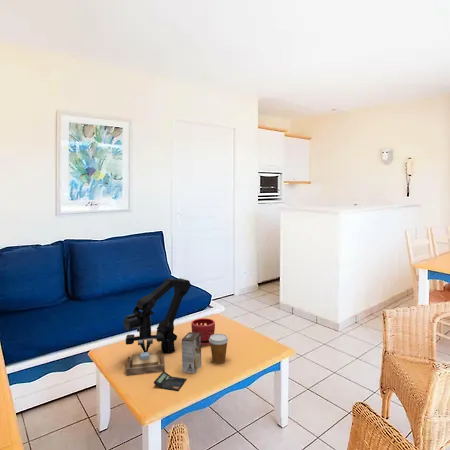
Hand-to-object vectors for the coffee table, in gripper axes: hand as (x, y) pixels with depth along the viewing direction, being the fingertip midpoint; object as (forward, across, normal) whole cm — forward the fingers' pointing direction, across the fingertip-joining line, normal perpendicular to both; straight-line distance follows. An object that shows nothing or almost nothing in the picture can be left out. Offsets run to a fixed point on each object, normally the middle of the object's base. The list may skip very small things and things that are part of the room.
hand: (145, 354), depth 178 cm
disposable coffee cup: (+3, -36, +9) cm, 37 cm away
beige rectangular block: (+3, 0, +6) cm, 7 cm away
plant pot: (+3, -31, -14) cm, 34 cm away
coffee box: (+3, -22, +14) cm, 26 cm away
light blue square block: (-1, 0, +6) cm, 6 cm away
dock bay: (+2, 0, +7) cm, 8 cm away
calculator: (+3, -11, +25) cm, 28 cm away
